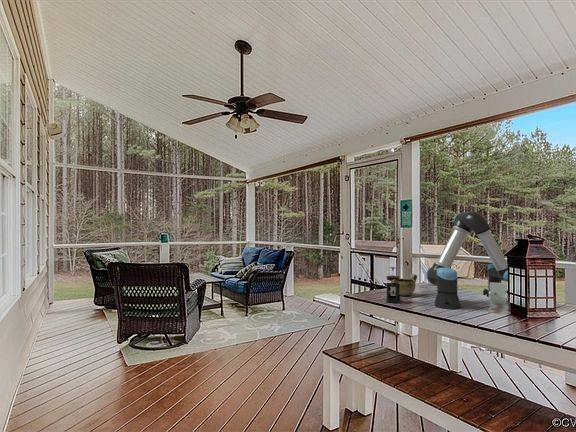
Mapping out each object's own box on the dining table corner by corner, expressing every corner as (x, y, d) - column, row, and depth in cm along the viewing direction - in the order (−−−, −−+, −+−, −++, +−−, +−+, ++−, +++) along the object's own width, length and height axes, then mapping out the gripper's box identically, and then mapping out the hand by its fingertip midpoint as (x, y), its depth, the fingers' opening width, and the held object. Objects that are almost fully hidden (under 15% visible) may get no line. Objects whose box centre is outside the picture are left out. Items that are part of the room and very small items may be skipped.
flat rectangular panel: (490, 310, 213) (490, 283, 214) (490, 309, 216) (489, 282, 216) (506, 311, 210) (505, 284, 210) (505, 310, 212) (505, 283, 213)
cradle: (488, 312, 208) (488, 301, 208) (487, 310, 214) (487, 299, 214) (510, 314, 203) (510, 303, 203) (509, 312, 209) (509, 301, 209)
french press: (404, 303, 234) (403, 268, 235) (391, 304, 231) (391, 268, 232) (394, 299, 245) (393, 266, 246) (381, 300, 243) (381, 266, 243)
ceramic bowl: (398, 298, 249) (398, 276, 249) (383, 294, 265) (383, 273, 265) (423, 295, 257) (423, 275, 257) (408, 291, 273) (407, 272, 273)
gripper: (515, 297, 225) (519, 304, 204) (477, 294, 234) (478, 301, 214) (514, 285, 225) (519, 291, 205) (477, 282, 234) (478, 288, 214)
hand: (498, 296), depth 209 cm, fingers closed on flat rectangular panel, 8 cm apart
